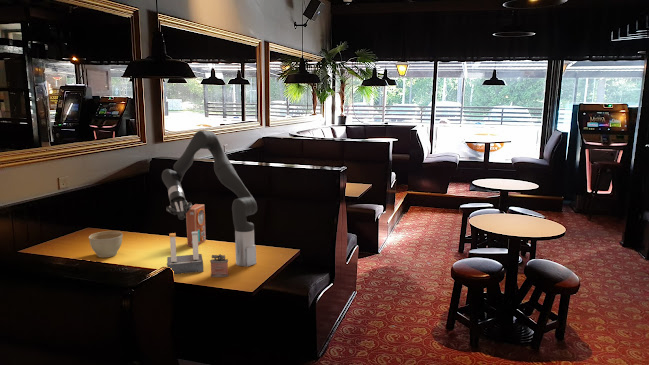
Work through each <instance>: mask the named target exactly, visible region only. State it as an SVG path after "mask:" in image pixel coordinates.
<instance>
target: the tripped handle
mask: <svg viewBox="0 0 649 365" xmlns="http://www.w3.org/2000/svg"><path fill="white" fill-rule="evenodd" d="M168 234H169V235H168V236H169V244H170V257H171V262H177V258H176V256H177V241H176V236H177V235H176V232H174V233H173V232H172V233H171V232H170V233H168Z"/></svg>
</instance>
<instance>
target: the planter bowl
mask: <svg viewBox="0 0 649 365" xmlns="http://www.w3.org/2000/svg"><path fill="white" fill-rule="evenodd" d="M88 240H89V244H90V247H91V249H92V250H93V252H94V253H95V254H96V256H97V257H98V258H110V257H111V258H112V257H115V256H116V255H117V254H118V252H119V250H120V248H121V246H122V244H123V243H122V242H123V232H121V231H116V230H115V231H114V230H107V231H100V232H94V233H91V234H90V235H89V236H88Z"/></svg>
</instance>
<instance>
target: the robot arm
mask: <svg viewBox="0 0 649 365" xmlns="http://www.w3.org/2000/svg"><path fill="white" fill-rule="evenodd" d="M199 150H208V151H209V152H210V154H211V156H212V158H213V170H214V173H215V175H216V177H217V179H218V180H219V181H220V184H222V185H224V187H226V188H228V190H230V191H231V192H233V193H234V194H235V195H236V196H237V197H238V198H235V199H233V202H232V206H231V211H232V222H233V226H234V239H235V240H234V242H235V265H236V266H237V267H246V268H247V267H251V266H254V265H256V264H257V245H256V244H255V224H254V223H253V222H251V221H250V222H249V221H247V220H248V219H247V217H248V216H252V215H255V214H256V213H257V212H258V204H257V201H256V200H255V198H254V197H253V195H252V194H251V192H250V191H249V190H248V188H247V187H246V186H245V184H244V183H243V180H242V179H241V178H240V177H239V175H238V173H237V170H235V167H234V166H233V164H232V163H231V161H230V159H229V158H228V155H227V154H226V152H225V151H224V149H223V146H222V144H221V142H220V140H219V138H218V136H217V134H216V133H215V132H213V131H210V130H198V131H196V132H195V134H194V135H193V136H192V138H191V140H190V142H189V143H188V145H187V146H186V149H185V150H184V152H183V154H181V156H180V157H179V158H178V159H177V160H176V162H175V163H174V164H173V166H172V168H173V169H171V168H170V169H169V168H165V169H164V170H163V171H162V173H161V180H162V182H163V184H164V185H165V187H166V188H167V192H168V199H169V203H170V204H169V206H165V207H166V212H168V213H170V214H172V215H173V216H177V217H178V219H179V220H180V221H182V220H184V219H186V215H185V214H186V213H187V212H188V211H189V210H190V208H191V207H192V206H193V204H192V202H191V201H190V202H188V201H187V200H186V197H185V193H184V190H183V188H182V184H181V182H182V181H183V177H184V176H185V173H186V172H187V171H188V169H190V167H191V166H192V165H193V163H194V160H195V159H194V158H195V155H196V154H197V152H198V151H199Z"/></svg>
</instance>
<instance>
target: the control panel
mask: <svg viewBox="0 0 649 365" xmlns="http://www.w3.org/2000/svg"><path fill="white" fill-rule="evenodd" d="M205 212H206V211H205V204H198V203H195V204H194V205H193V204H192V207H191V208H190V210H189V211H188V212H187V213H185V222H186V224H185V225H186V236H187V238H186V239H187V241H186V242H187V243H186V244H187V247H193V242H192V232H196V231H198V246H200V245H202V243H204V242H206V241H207V239H206V238H207V236H206V213H205Z"/></svg>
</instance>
